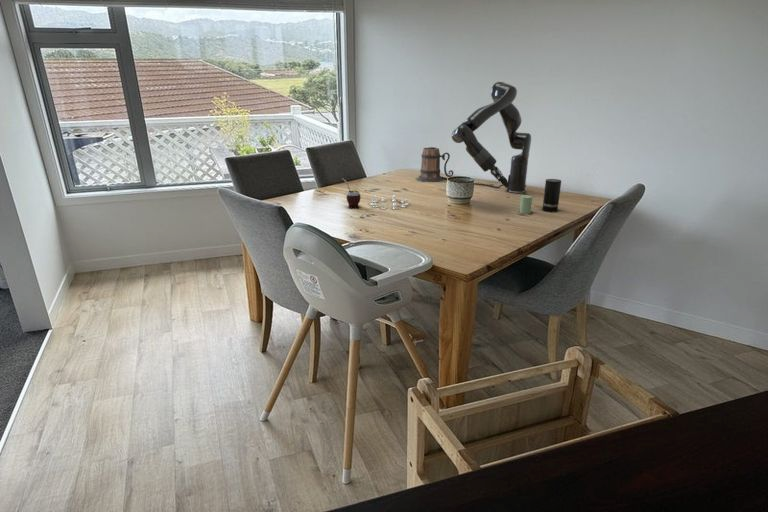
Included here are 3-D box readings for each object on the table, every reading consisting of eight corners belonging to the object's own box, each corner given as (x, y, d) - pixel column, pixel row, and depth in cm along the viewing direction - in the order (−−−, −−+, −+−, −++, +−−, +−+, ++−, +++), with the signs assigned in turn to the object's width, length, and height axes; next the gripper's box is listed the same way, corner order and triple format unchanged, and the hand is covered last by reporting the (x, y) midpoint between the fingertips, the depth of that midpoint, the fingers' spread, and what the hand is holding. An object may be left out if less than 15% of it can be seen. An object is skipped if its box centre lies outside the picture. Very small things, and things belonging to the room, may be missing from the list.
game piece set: (384, 198, 259) (384, 191, 258) (415, 203, 248) (415, 196, 247) (362, 205, 244) (362, 198, 243) (394, 211, 233) (394, 203, 232)
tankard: (414, 180, 304) (414, 149, 297) (420, 176, 319) (421, 146, 312) (450, 183, 297) (452, 151, 290) (455, 178, 312) (456, 147, 305)
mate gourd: (363, 207, 241) (363, 177, 235) (352, 210, 235) (351, 179, 230) (353, 204, 245) (352, 175, 240) (342, 207, 240) (341, 177, 235)
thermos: (539, 210, 235) (543, 180, 230) (545, 207, 241) (548, 178, 236) (554, 212, 231) (558, 182, 226) (559, 209, 237) (563, 179, 231)
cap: (517, 212, 231) (519, 196, 228) (522, 210, 235) (523, 194, 232) (528, 214, 228) (529, 198, 225) (532, 212, 232) (534, 196, 229)
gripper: (491, 156, 218) (514, 181, 221) (489, 151, 232) (511, 176, 234) (478, 167, 221) (501, 192, 223) (478, 162, 234) (499, 186, 236)
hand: (506, 184), depth 228 cm, fingers open, 8 cm apart
